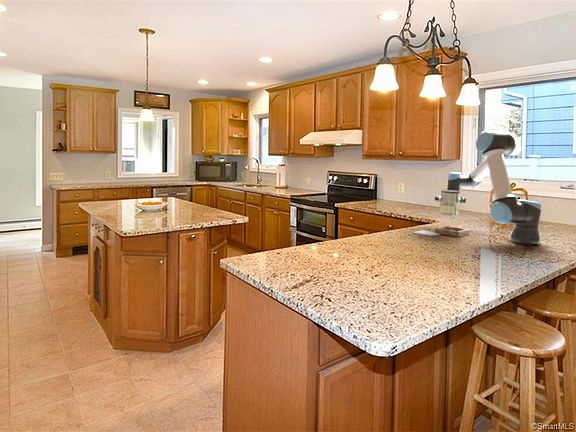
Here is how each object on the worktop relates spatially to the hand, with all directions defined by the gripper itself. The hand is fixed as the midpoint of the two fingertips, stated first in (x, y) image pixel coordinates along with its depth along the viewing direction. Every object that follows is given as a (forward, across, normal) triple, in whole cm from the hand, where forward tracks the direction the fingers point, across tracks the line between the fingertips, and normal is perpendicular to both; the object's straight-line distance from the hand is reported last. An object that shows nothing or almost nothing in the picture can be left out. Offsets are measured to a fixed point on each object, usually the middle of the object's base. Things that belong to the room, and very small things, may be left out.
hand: (449, 200), depth 243 cm
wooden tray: (-5, -3, -20) cm, 21 cm away
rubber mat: (+4, +10, -20) cm, 23 cm away
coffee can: (-4, 0, -9) cm, 10 cm away
